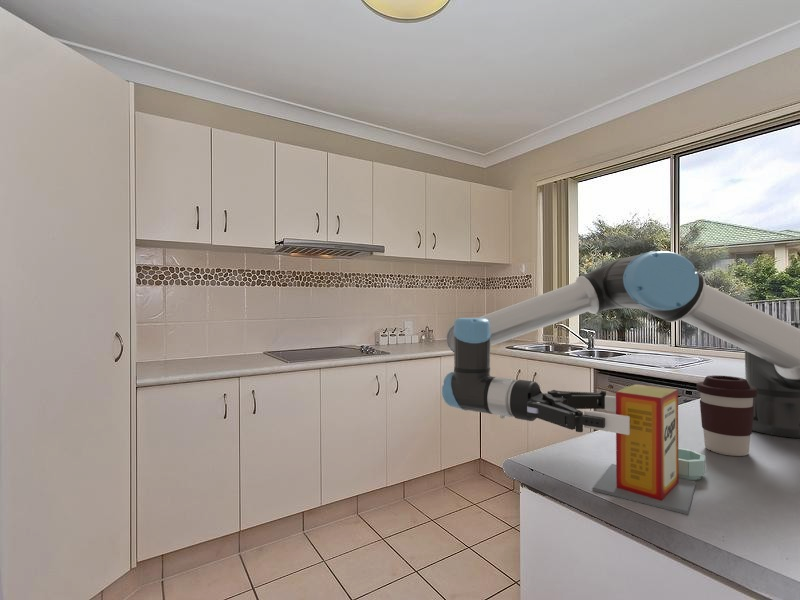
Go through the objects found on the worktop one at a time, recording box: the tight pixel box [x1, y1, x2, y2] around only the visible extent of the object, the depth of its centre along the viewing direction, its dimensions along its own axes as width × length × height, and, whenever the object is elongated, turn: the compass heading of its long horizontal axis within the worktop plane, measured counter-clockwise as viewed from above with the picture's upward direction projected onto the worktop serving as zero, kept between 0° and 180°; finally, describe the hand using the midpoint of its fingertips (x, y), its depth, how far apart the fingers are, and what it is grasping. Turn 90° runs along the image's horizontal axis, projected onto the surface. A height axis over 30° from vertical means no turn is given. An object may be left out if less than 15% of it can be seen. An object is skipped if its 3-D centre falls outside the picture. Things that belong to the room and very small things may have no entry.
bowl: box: [678, 447, 707, 481], centre depth 77 cm, size 7×7×4 cm
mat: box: [592, 463, 697, 515], centre depth 72 cm, size 13×13×1 cm
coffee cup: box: [696, 374, 757, 457], centre depth 89 cm, size 10×10×15 cm
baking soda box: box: [615, 383, 679, 501], centre depth 71 cm, size 10×6×16 cm
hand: (637, 416), depth 72 cm, fingers open, 13 cm apart
